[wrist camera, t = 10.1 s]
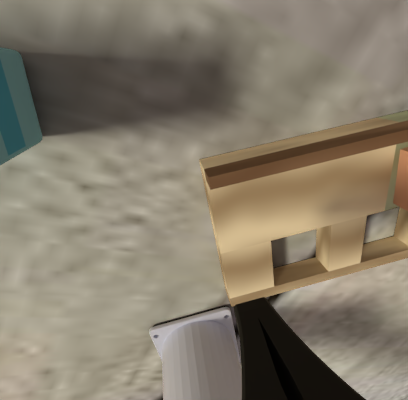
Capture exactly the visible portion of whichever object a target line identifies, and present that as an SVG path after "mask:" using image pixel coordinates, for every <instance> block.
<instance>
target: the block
mask: <svg viewBox="0 0 408 400" xmlns="http://www.w3.org/2000/svg"><path fill="white" fill-rule="evenodd" d="M393 204H395V205H397V206H399V207H401V208H403V209H404V210H406V211H408V147H406V148H403V149H400V155H399V162H398V170H397V177H396V185H395V192H394V200H393Z"/></svg>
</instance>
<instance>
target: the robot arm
mask: <svg viewBox="0 0 408 400" xmlns="http://www.w3.org/2000/svg"><path fill="white" fill-rule="evenodd" d="M234 312H235V317H236V322H237V327H238V332H239V336H240V346H241V360H240V355H239V350H238V345H237V340H236V335H235V330H234V325H233V320H232V315H231V311H230V308H229V307H223V308H219V309H215V310H212V311H208V312H205V313H201V314H197V315H194V316H190V317H186V318H183V319H179V320H176V321H172V322H168V323H165V324H161V325H158V326H154V327H152V328H150V331H149V333H150V336H151V338H152V341H153V343H154V345H155V347H156V349H157V351H158V354H159V356H160V358H161V360H162V368H163V400H366V399H364V398H363V397H362V396H361V395H360V394H358V393H357V392H356V391H355V390H354V389H352V388H351V387H350V386H349V385H348V384H347V383H346V382H344V381H343V380H342V379H341V378H340V377H339V376H338V375H337V374H335V373H334V372H333V371H332V370H331V369H330V368H329V367H328V366H327V365H326V364H325V363H324V362H323V361H322V360H321V359H320V358H319V357H318V356H317V355H315V354H314V353H313V352H312V351H311V350H310V348H309V347H308V346H307V345H306V344H305V343H304V342H303V341H302V340H301V339H300V338H299V337H298V336H297V335H296V334H295V333H294V332H293V331H292V329H291V328H290V327H289V326H288V325H287V324H286V323H285V321H284V320H283V319H282V318H281V317H280V316H279V314H278V313H277V312H276V311H275V309H274V308H273V307H272V306H271V304H270V303H269V301H268V300H267V299H266V298H265V297H261V298H258V299H254V300H251V301H247V302H243V303H240V304H236V305H235V306H234ZM241 362H242V369H241V366H240V363H241Z"/></svg>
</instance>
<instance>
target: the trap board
mask: <svg viewBox="0 0 408 400" xmlns="http://www.w3.org/2000/svg"><path fill="white" fill-rule="evenodd" d="M406 147H408V110H407V111H403V112H399V113H394V114H390V115H386V116H382V117H377V118H373V119H369V120H365V121H361V122H356V123H352V124H348V125H344V126H339V127H335V128H331V129H327V130H322V131H318V132H314V133H310V134H305V135H301V136H297V137H293V138H289V139H284V140H280V141H276V142H272V143H267V144H263V145H259V146H255V147H250V148H246V149H242V150H238V151H234V152H229V153H225V154H221V155H217V156H212V157H208V158H204V159H200V160H199V161H200V166H201V171H202V176H203V181H204V186H205V190H206V195H207V200H208V205H209V210H210V215H211V220H212V225H213V230H214V235H215V239H216V244H217V249H218V254H219V259H220V264H221V269H222V274H223V279H224V284H225V288H226V292H227V295H228V298H229V301H230V304H231V307H232V306H235V305H236V304H240V303H243V302H247V301H251V300H254V299H258V298H261V297H268V296H271V295H275V294H279V293H282V292H286V291H290V290H293V289H297V288H300V287H304V286H308V285H311V284H315V283H318V282H322V281H326V280H329V279H333V278H336V277H340V276H344V275H347V274H351V273H354V272H358V271H362V270H365V269H369V268H373V267H376V266H380V265H383V264H387V263H391V262H394V261H398V260H401V259H405V258H408V211H406V210H404V209H403V208H401V207H400V208H399V213H398V218H397V222H396V227H395V232H394V236H392V237H388V238H384V239H381V240H377V241H373V242H370V243H366V244H363V241H364V234H365V227H366V220H367V215H371V214H375V213H379V212H383V211H386V210H390V209H393V208H397V207H399V206H397V205H395V204H393V200H394V192H395V185H396V177H397V170H398V162H399V155H400V149H403V148H406ZM314 229H317V235H316V257H314V258H310V259H307V260H303V261H299V262H296V263H292V264H288V265H284V266H281V267H277V268H273V263H272V249H271V241H272V240H276V239H280V238H284V237H287V236H291V235H295V234H299V233H303V232H306V231H310V230H314Z"/></svg>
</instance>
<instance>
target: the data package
mask: <svg viewBox="0 0 408 400" xmlns="http://www.w3.org/2000/svg"><path fill="white" fill-rule="evenodd" d="M41 140H42V133H41V129H40V125H39V121H38V118H37V114H36V110H35V106H34V102H33V99H32V95H31V91H30V87H29V83H28V79H27V76H26V72H25V68H24V64H23V60H22V57H21V55H20V53H19V52H17V51H15V50H12V49H6V48H1V47H0V165H2V164H3V163H5V162H7V161H8V160H10V159H12V158H14V157H15V156H17V155H19V154H20V153H22V152H24V151H26V150H27V149H29V148H31V147H32V146H34V145H36V144H38V143H39V142H40V141H41Z"/></svg>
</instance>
